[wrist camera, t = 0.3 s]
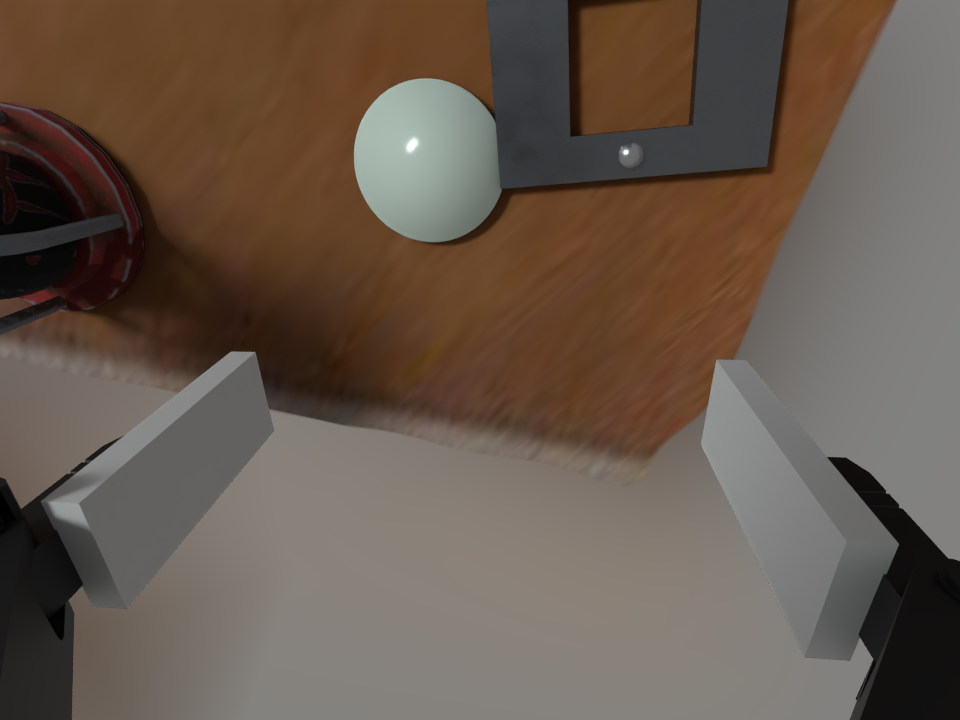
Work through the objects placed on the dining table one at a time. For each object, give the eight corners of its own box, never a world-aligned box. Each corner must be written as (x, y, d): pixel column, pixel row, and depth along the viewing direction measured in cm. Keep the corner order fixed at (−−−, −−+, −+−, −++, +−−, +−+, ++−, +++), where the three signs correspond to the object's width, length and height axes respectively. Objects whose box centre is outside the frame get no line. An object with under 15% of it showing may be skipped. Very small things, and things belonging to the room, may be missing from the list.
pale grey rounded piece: (343, 88, 37) (339, 87, 36) (500, 70, 35) (499, 69, 34) (372, 244, 41) (368, 247, 40) (511, 234, 40) (510, 236, 39)
